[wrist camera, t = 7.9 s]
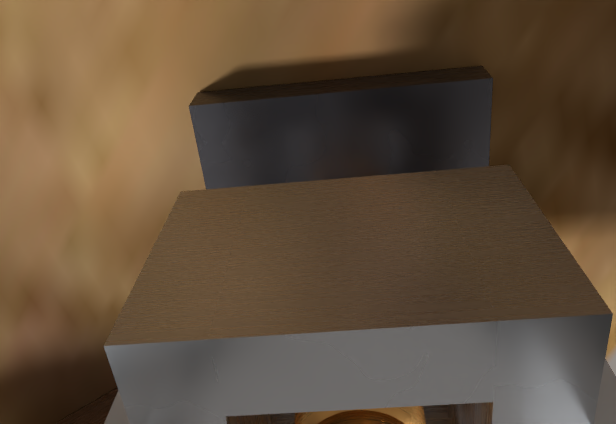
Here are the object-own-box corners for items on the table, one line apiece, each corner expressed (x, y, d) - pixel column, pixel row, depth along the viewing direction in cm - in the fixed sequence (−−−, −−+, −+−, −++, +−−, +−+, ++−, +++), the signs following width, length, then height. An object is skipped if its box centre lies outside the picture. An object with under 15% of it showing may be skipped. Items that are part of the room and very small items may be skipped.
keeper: (197, 92, 17) (45, 322, 8) (482, 65, 16) (670, 282, 7) (241, 313, 21) (173, 639, 12) (473, 299, 20) (590, 631, 11)
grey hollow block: (180, 191, 13) (103, 345, 8) (509, 164, 12) (612, 314, 8) (233, 421, 16) (197, 621, 12) (493, 407, 15) (560, 610, 11)
